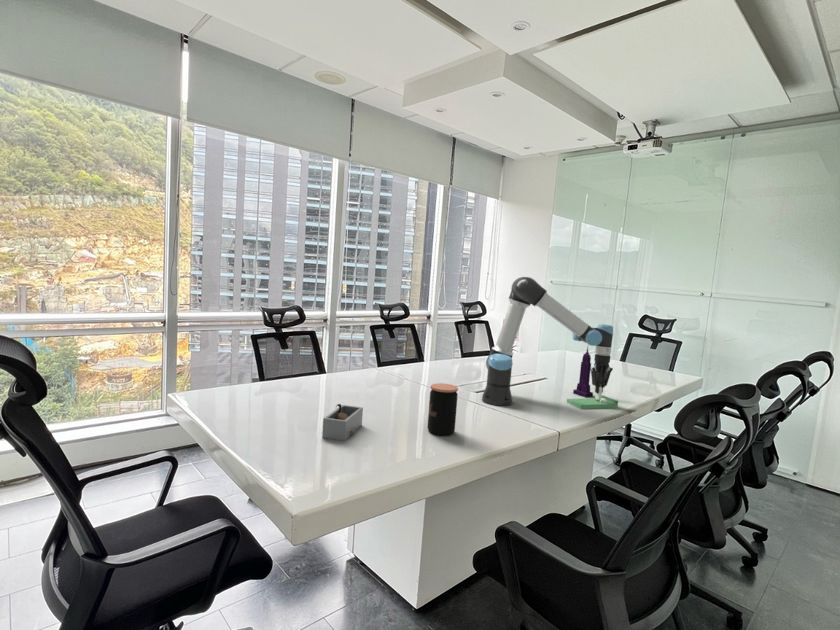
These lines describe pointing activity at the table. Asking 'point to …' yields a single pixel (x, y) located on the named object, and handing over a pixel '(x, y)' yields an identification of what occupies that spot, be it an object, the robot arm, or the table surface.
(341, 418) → the figurine
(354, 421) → the open storage box
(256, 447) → the table surface
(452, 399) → the coffee jar
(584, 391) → the building model
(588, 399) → the green
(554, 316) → the robot arm
